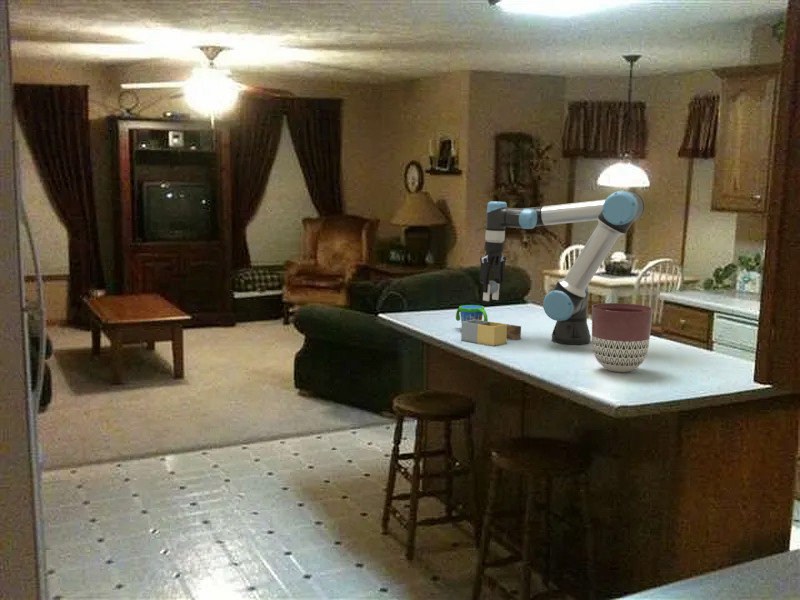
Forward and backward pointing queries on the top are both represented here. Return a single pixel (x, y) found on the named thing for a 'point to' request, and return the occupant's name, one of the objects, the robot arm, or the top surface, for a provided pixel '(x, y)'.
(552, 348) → the top surface
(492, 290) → the slate ball
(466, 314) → the snack cup
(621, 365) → the planter
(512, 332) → the rack
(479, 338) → the tube block
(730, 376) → the top surface
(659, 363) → the top surface
